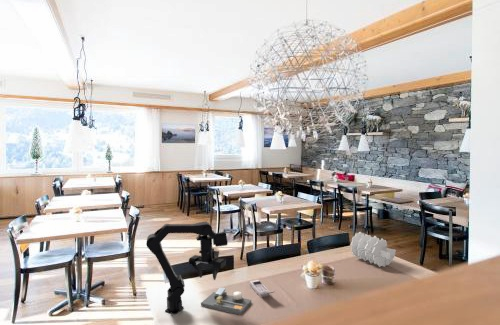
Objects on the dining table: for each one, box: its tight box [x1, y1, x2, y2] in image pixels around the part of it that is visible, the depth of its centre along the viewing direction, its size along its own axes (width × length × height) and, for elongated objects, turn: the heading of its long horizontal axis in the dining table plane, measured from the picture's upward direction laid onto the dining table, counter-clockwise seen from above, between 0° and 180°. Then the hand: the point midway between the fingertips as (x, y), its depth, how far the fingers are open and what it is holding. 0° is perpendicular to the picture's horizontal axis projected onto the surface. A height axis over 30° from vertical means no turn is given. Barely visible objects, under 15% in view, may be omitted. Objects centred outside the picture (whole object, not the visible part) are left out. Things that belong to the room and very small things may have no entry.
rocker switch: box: [215, 286, 227, 296], centre depth 157 cm, size 3×5×1 cm, turn 155°
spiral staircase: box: [349, 231, 397, 268], centre depth 202 cm, size 18×18×25 cm
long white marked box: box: [249, 279, 276, 298], centre depth 164 cm, size 6×6×25 cm
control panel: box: [200, 291, 252, 316], centre depth 152 cm, size 22×12×3 cm, turn 65°
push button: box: [232, 290, 243, 300], centre depth 153 cm, size 4×4×2 cm
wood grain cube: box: [216, 296, 223, 305], centre depth 150 cm, size 2×3×3 cm
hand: (207, 278), depth 153 cm, fingers open, 8 cm apart
